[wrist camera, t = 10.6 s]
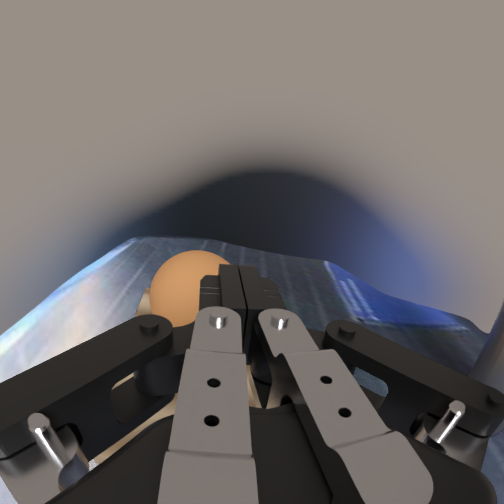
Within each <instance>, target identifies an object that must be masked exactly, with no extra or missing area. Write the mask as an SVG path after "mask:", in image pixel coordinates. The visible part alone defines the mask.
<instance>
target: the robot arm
mask: <svg viewBox="0 0 504 504" xmlns="http://www.w3.org/2000/svg"><path fill="white" fill-rule="evenodd" d="M280 296H281V295H280V293H279V292H278V289H277V286H276V284H275V283H274V282H273V281H271V280H270V279H269V278H260V276H259V273H258V270H257V268H256V266H249V265H238V266H237V265H231V264H219V268H218V275H205V276H204V277H203V278H202V279H201V280H200V294H199V312H198V313H197V315H196V319H195V320H194V321H193V322H192V323H190V324H187V325H184V326H178V327H173V325H172V323H171V322H170V321H169V320H168V319H167V318H165V317H163V316H160V315H154V314H145V315H140V316H136V317H134V318H132V319H130V320H128V321H126V322H124V323H122V324H120V325H118V326H116V327H114V328H112V329H110V330H108V331H106V332H104V333H102V334H100V335H98V336H96V337H94V338H92V339H90V340H88V341H85V342H83V343H81V344H79V345H77V346H75V347H73V348H71V349H69V350H67V351H65V352H63V353H61V354H59V355H57V356H55V357H53V358H51V359H49V360H47V361H45V362H43V363H41V364H39V365H37V366H34V367H32V368H30V369H28V370H26V371H24V372H22V373H20V374H18V375H16V376H14V377H12V378H10V379H8V380H6V381H4V382H2V383H0V476H1V478H2V479H3V481H4V483H5V484H6V486H7V487H8V489H9V491H10V492H11V494H12V495H13V497H14V498H15V500H16V501H17V503H18V504H497V496H496V492H495V490H494V487H493V485H492V484H491V482H490V481H489V479H488V478H487V477H486V476H485V475H484V474H483V473H481V472H480V471H481V468H482V464H483V460H484V457H485V453H486V449H487V444H488V440H489V438H490V436H492V435H496V434H498V433H499V432H500V431H501V430H502V429H503V428H504V300H503V303H502V306H501V308H500V311H499V313H498V315H497V318H496V320H495V323H494V325H493V327H492V330H491V332H490V334H489V336H488V338H487V340H486V342H485V345H484V347H483V349H482V351H481V353H480V355H479V357H478V359H477V360H476V362H475V364H474V366H473V368H472V370H471V372H470V374H469V375H468V376H466V375H464V374H462V373H459V372H457V371H455V370H453V369H451V368H448V367H446V366H444V365H442V364H440V363H438V362H435V361H433V360H431V359H429V358H427V357H425V356H423V355H420V354H418V353H416V352H414V351H412V350H410V349H408V348H405V347H403V346H401V345H399V344H397V343H395V342H393V341H391V340H389V339H386V338H384V337H382V336H380V335H378V334H376V333H374V332H372V331H370V330H368V329H365V328H363V327H361V326H359V325H357V324H355V323H352V322H349V321H343V320H337V321H332V322H330V323H329V324H328V325H327V327H326V330H325V332H323V331H317V330H312V329H308V328H305V326H304V324H303V323H302V321H301V319H300V318H299V317H298V316H297V315H296V314H294V313H292V312H290V311H287V309H286V307H285V305H284V302H283V300H282V298H281V297H280ZM246 365H250V376H249V384H250V387H251V391H252V394H253V397H254V401H255V404H256V407H251V406H249V401H248V385H247V369H246ZM356 367H358V368H360V369H362V370H364V371H366V372H368V373H370V374H371V375H373V376H375V377H377V378H379V379H381V380H383V381H384V382H385V383H386V384H387V386H388V390H389V391H388V394H387V396H386V397H382V396H380V395H378V394H376V393H374V392H372V391H370V390H368V389H366V388H365V387H363V386H361V385H359V384H358V383H357V382H356V380H355V379H354V377H353V374H354V371H355V369H356ZM132 373H133V375H134V376H133V377H131V378H130V379H128V380H127V381H125V382H123V383H122V384H120V385H119V386H117V387H115V388H114V389H112V388H113V387H114V385H115V384H116V383H118V382H119V381H121V380H122V379H124V378H126V377H127V376H129V375H130V374H132ZM176 393H178V396H177V401H176V407H175V413H174V414H173V415H170V416H167V417H164V418H162V419H160V420H157V421H155V422H154V423H152V424H150V425H149V426H147V427H146V428H145V429H143V430H142V431H141V432H140V433H139V434H137V435H136V436H135V437H134V438H132V439H131V440H130V441H129V442H127V443H126V444H125V445H124V446H122V447H121V448H120V449H118V450H117V451H116V452H115V453H113V454H112V455H111V456H109V457H108V458H107V459H106V460H104V461H103V462H102V463H100V464H99V465H98V466H96V467H95V468H94V469H92V470H91V471H90V472H89V463H88V462H89V461H91V460H92V459H94V458H95V457H97V456H98V455H100V454H101V453H102V452H104V451H105V450H107V449H108V448H110V447H111V446H112V445H114V444H115V443H117V442H118V441H119V440H121V439H122V438H124V437H125V436H126V435H128V434H129V433H130V432H132V431H133V430H135V429H136V428H137V427H139V426H140V425H141V424H143V423H144V422H145V421H147V420H148V419H149V418H151V417H152V416H153V415H155V414H156V413H157V412H159V411H160V410H161V409H162V408H164V407H165V406H166V405H168V404H169V403H170V402H171V401H172V400H173V399H174V397H175V394H176Z"/></svg>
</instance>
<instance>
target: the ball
mask: <svg viewBox="0 0 504 504" xmlns="http://www.w3.org/2000/svg"><path fill="white" fill-rule="evenodd" d="M219 264H229V263H228V262H227V261H226V260H224V259H223V258H221V257H220V256H218V255H215V254H213V253H210V252H206V251H198V250H195V251H187V252H183V253H180V254H178V255H175V256H173V257H172V258H170V259H169V260H167V261H166V262H165V263H164V264H163V265H162V266H161V267H160V268H159V270H158V271H157V273H156V275H155V276H154V278H153V281H152V284H151V288H150V296H149V299H150V307H151V311H152V314H154V315H160V316H163V317H165V318H167V319H168V320H169V321H170V322H171V323H172V325H173V327H178V326H184V325H187V324H190V323H192V322H193V321H194V320H195V319H196V315H197V313H198V312H199V294H200V280H201V279H202V278H203V277H204V276H205V275H218V268H219Z"/></svg>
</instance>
